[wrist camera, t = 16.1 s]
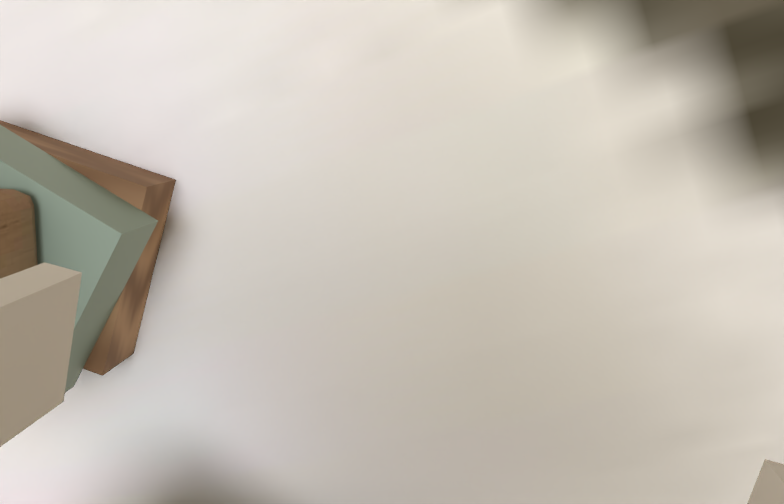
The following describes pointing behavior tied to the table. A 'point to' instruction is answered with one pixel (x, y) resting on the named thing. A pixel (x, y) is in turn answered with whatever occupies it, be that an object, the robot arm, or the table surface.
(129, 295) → the tower base
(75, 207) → the tower top
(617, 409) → the table surface
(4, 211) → the block
